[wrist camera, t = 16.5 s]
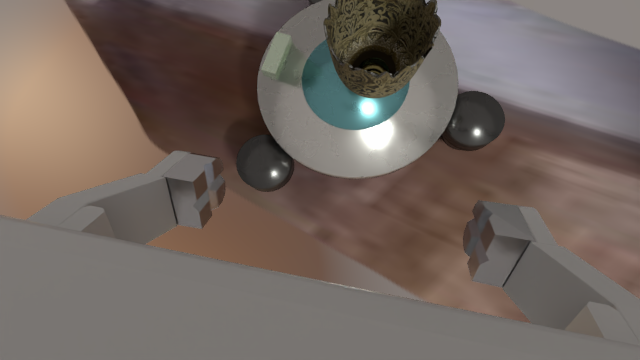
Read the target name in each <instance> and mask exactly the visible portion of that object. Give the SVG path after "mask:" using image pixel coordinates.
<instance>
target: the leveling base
mask: <svg viewBox="0 0 640 360" xmlns="http://www.w3.org/2000/svg"><path fill="white" fill-rule="evenodd" d="M329 3H330V4H332V5H334V6H335V0H309V5H310V6H309V7H307V8H305V9H303V10H302V11H300V12H299V13H297V14H296V15H295V16H293V17H292V18H291V19H290V20H289V21H287V22H286V23H285V24H284V25H283V26H282V27H281V28H280V30H279V31H278V32H276V34H275V36H274V37H273V39H272V40H271V42H270V43H269V45H268V47H267V49H266V51H265V53H264V55H263V58H262V61H261V64H260V68H259V73H258V81H257V94H258V103H259V107H260V111H261V114H262V117H263V119H264V122H265V124H266V126H267V128H268V130H269V131H270V133H271V135H259V136H255V137H253V138H251V139H249V140H248V141H247V142H246V143H245V144H244V145H243V146H242V147H241V149H240V151H239V153H238V156H237V162H236V164H237V170H238V173H239V175H240V177H241V178H242V180H243V181H244V182H246V183H247V184H248V185H250V186H251V187H253V188H255V189H257V190H259V191H264V192H270V191H275V190H278V189H280V188H281V187H283V186H284V185H285V184H286V183H287V182H288V181H289V180H290V178H291V176H292V174H293V171H294V160H293V159H295V160H296V161H297V162H299V163H300V164H302V165H304V166H305V167H307V168H309V169H311V170H313V171H316V172H318V173H321V174H324V175H328V176H332V177H336V178H344V179H367V178H374V177H379V176H383V175H387V174H390V173H393V172H395V171H397V170H400V169H402V168H404V167H406V166H407V165H409V164H411V163H413V162H414V161H416V160H417V159H418V158H419V157H421V156H422V155H423V154H425V153H426V152H427V151H428V150H429V149H430V148H431V147H432V146H433V145H434V143H435V142H436V141H437V140H438V138H439V137H440V136H441V134H442V138H443V140H444V142H445V143H446V144H447V145H448V146H450V147H451V148H454V149H457V150H465V151H473V150H478V149H481V148H483V147H484V146H486V145H487V144H489V143H490V142H491V141H493V140H494V139H495V138H497V137H498V136H499V134H500V133H501V131H502V130H503V127H504V123H505V117H504V112H503V109H502V107H501V106H500V104H499V103H498V102H497V101H496V100H495V99H494V98H493V97H491V96H490V95H488V94H486V93H483V92H478V91H469V92H464V93H461V94H459V95H458V73H457V67H456V63H455V59H454V56H453V53H452V51H451V48H450V46H449V44H448V43H447V41H446V39H445V37H444V36H443V35H442V33H441V32H440V31H439V32H438V35H437V37H436V39H435V41H434V44H435V45H434V46H433V48H432V49H431V51H430V52H429V53H428V55H427V56H426V58H425V59H424V61H423V63H422V64H421V66H420V67H419V69H418V70H417V72H416V73H415V75H414V76H413V77H412V78H411V80H410V81H409V82H408V83H407V84H406V85H405V86H404V87H403V88H402V89H400V90H399V91H397V92H396V93H394V94H392V95H389V96H386V97H382V98H366V97H362V96H359V95H357V94H355V93H354V92H352V91H351V90H349V89H348V88H347V87H346V86H345V85H344V84H343V83H342V81H341V80H340V78H339V76H338V74H337V72H336V70H335V67H334V64H333V61H332V58H331V55H330V51H329V47H328V44H327V41H326V37H325V32H324V25H323V23H324V20H325V18H327V17H328V4H329Z"/></svg>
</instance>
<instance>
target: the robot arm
mask: <svg viewBox="0 0 640 360" xmlns="http://www.w3.org/2000/svg"><path fill="white" fill-rule="evenodd" d="M222 171H223V164H222V160H221V159H220V158H218V157H212V156H207V155H201V154H196V153H190V152H185V151H173V152H172V153H171V154H170V155H168V156H167V157H166V158H165V159H163V160H162V161H161V162H160V163H159V164H157V165H156V166H155V167H154V168H152V169H151V170H150V171H149V172H147V173H146V174H142V173H140V174H137V175H134V176H130V177H127V178H124V179H120V180H117V181H114V182H111V183H107V184H104V185H100V186H97V187H94V188H90V189H87V190H84V191H80V192H77V193H73V194H70V195H67V196H64V197H60V198H57V199H56V200H55V201H53V202H52V203H50V204H49V205H47V206H46V207H44V208H43V209H41V210H40V211H38V212H37V213H35V214H34V215H32V216H31V217H29V218H28V219H27V220H23V219H18V218H13V217H8V216H3V215H0V360H640V299H638V298H637V297H636V296H634V295H633V294H631V293H630V292H628V291H627V290H626V289H624V288H623V287H621V286H620V285H618V284H617V283H615V282H614V281H613V280H611V279H610V278H608V277H607V276H605V275H604V274H602V273H601V272H600V271H598V270H597V269H595V268H594V267H592V266H591V265H589V264H588V263H587V262H585V261H584V260H582V259H581V258H579V257H578V256H576V255H575V254H574V253H572V252H571V251H569V250H568V249H566V248H565V247H561V246H558V245H557V243H556V241H555V240H554V238H553V236H552V235H551V233H550V231H549V230H548V228H547V226H546V225H545V223H544V221H543V220H542V218H541V216H540V215H539V213H538V211H537V210H536V209H534V208H533V207H525V206H517V205H508V204H501V203H494V202H487V201H480V200H478V202H477V203H476V204H475V206H474V208H473V215H474V219H472V220H470V221H469V222H467V225H466V228H465V230H464V236H463V247H464V251H465V253H466V254H467V255H468V256H469V257H470V259H469V261H468V263H467V264H468V268H469V272H470V276H471V280H472V281H475V282H479V283H484V284H488V285H493V286H498V287H502V288H503V290H504V291H505V292H506V294H507V295H508V296H509V297H510V298H511V299H512V301H513V302H514V303H515V304H516V305H517V306H518V308H519V309H520V310H521V311H522V312H523V313H524V315H525V316H526V317H527V318H528V319H529V320H530V322H531V323H532V324H531V323H527V322H522V321H517V320H512V319H507V318H502V317H497V316H492V315H487V314H482V313H477V312H472V311H467V310H463V309H458V308H453V307H448V306H443V305H438V304H433V303H428V302H424V301H419V300H414V299H409V298H404V297H399V296H394V295H390V294H385V293H380V292H375V291H370V290H365V289H360V288H355V287H350V286H346V285H340V284H336V283H330V282H326V281H321V280H316V279H311V278H306V277H301V276H296V275H291V274H286V273H281V272H276V271H272V270H267V269H262V268H257V267H252V266H247V265H242V264H238V263H232V262H228V261H223V260H218V259H213V258H208V257H203V256H198V255H194V254H188V253H184V252H179V251H174V250H169V249H164V248H159V247H155V246H149V245H145V244H146V243H148V242H150V241H152V240H153V239H155V238H157V237H159V236H160V235H162V234H164V233H166V232H167V231H169V230H171V229H172V228H174V227H176V226H177V225H182V226H188V227H194V228H200V229H202V228H203V227H204V225H205V224H206V223H207V222H208V220H209V219H210V218H211V216H212V212H211V210H213V209H215V208H217V207H219V205H220V204H221V203H222V201H223V198H224V195H225V180H224V179H223V178H222V176H221V175H220V173H221V172H222Z"/></svg>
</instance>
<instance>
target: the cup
mask: <svg viewBox="0 0 640 360" xmlns="http://www.w3.org/2000/svg"><path fill="white" fill-rule="evenodd" d="M427 4H428V5H427ZM436 12H437V1H436V0H431V1H429V2H427V3H425V0H335V6H334V5H332V4H330V3H329V4H328V17H327V18H325V20H324V23H323V25H324V32H325V37H326V41H327V44H328V47H329V51H330V55H331V58H332V61H333V64H334V67H335V70H336V72H337V74H338V76H339V78H340V80H341V81H342V83H343V84H344V85H345V86H346V87H347V88H348V89H349V90H351V91H352V92H354V93H355V94H357V95H359V96H362V97H366V98H382V97H386V96H389V95H392V94H394V93H396V92H397V91H399V90H400V89H402V88H403V87H404V86H405V85H406V84H407V83H408V82H409V81H410V80H411V78H412V77H413V76H414V75H415V73H416V72H417V70H418V69H419V67H420V66H421V64H422V63H423V61H424V59H425V58H426V56H427V55H428V53H429V52H430V51H431V49H432V48H433V46H434V45H435V44H434V41H435V39H436V37H437V35H438V32H439V29H440V26H441V19H440V18H439V16H438V15H437V14H436Z"/></svg>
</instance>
